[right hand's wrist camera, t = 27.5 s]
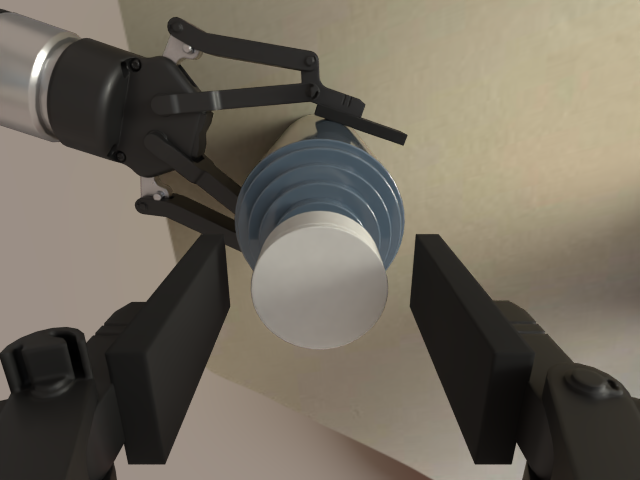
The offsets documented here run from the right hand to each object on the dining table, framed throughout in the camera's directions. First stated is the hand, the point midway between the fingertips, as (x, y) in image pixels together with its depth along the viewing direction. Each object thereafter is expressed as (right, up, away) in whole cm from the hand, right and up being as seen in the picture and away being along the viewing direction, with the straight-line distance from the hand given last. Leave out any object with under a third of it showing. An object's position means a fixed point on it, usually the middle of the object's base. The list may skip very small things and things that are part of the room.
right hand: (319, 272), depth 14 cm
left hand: (+5, +5, +17) cm, 18 cm away
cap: (0, 0, -1) cm, 1 cm away
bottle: (0, +8, +23) cm, 24 cm away
